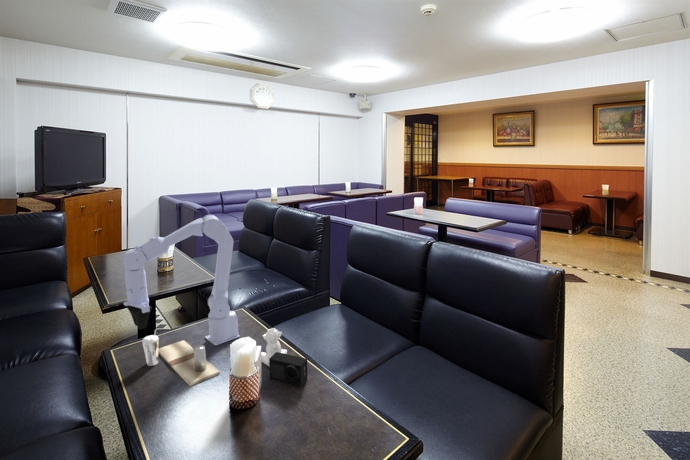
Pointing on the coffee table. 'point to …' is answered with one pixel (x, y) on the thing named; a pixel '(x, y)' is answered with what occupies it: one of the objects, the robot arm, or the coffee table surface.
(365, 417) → the coffee table surface
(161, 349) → the plywood panel
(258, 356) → the ink cartridge box
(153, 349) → the white rounded piece
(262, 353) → the seated beast figurine
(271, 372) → the digital camera
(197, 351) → the steel peg
